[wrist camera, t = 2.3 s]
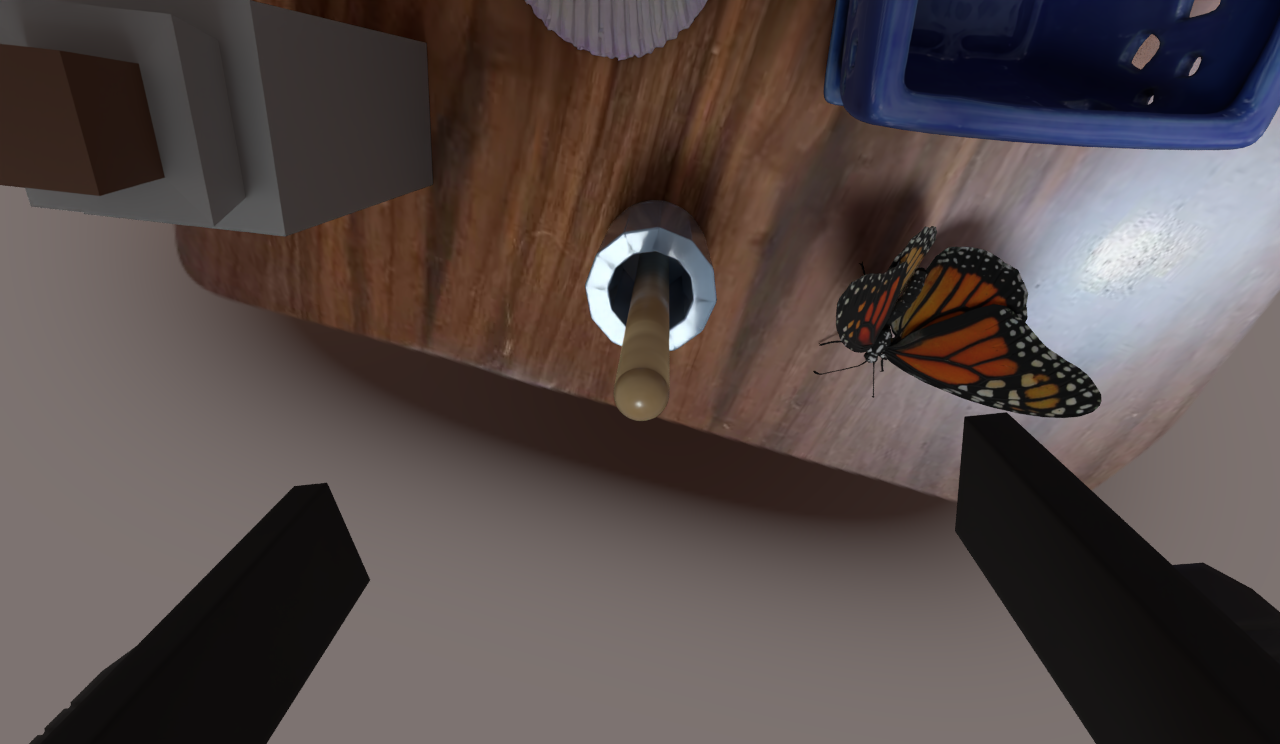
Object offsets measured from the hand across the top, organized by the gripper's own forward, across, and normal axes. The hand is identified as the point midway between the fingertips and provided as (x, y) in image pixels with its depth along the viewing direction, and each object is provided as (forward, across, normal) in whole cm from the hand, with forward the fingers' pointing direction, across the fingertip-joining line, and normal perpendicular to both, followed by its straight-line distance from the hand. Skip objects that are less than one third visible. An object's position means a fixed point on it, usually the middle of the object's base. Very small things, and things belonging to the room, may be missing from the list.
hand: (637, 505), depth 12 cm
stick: (+22, 0, 0) cm, 22 cm away
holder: (+23, 0, 0) cm, 23 cm away
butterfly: (+23, +12, -5) cm, 26 cm away
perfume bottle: (+23, -14, +10) cm, 28 cm away
